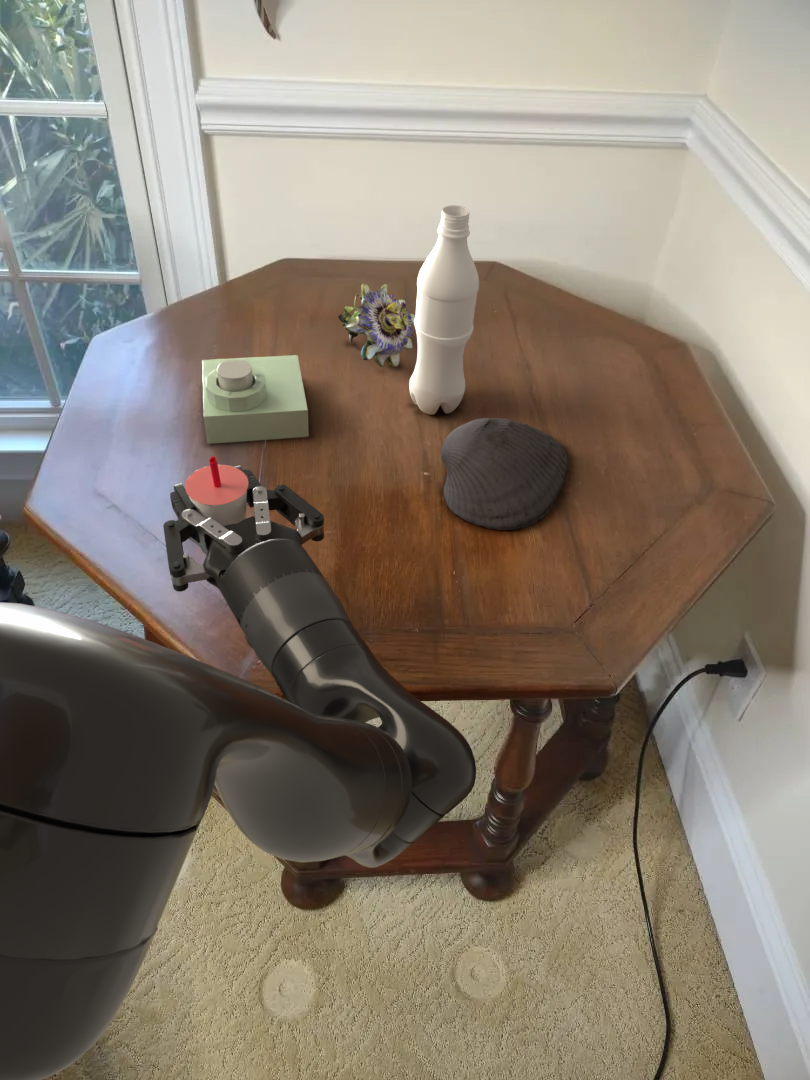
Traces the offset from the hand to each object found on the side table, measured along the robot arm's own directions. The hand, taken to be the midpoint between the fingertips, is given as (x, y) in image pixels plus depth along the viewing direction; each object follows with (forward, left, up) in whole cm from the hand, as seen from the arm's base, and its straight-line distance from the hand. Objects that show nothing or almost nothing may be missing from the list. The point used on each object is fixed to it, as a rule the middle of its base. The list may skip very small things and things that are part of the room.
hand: (208, 483), depth 69 cm
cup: (+1, -3, -7) cm, 8 cm away
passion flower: (+22, +38, -12) cm, 46 cm away
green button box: (+5, +26, -12) cm, 29 cm away
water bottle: (+28, +25, -12) cm, 40 cm away
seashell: (+33, +10, -12) cm, 37 cm away
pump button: (+3, +24, -6) cm, 25 cm away
